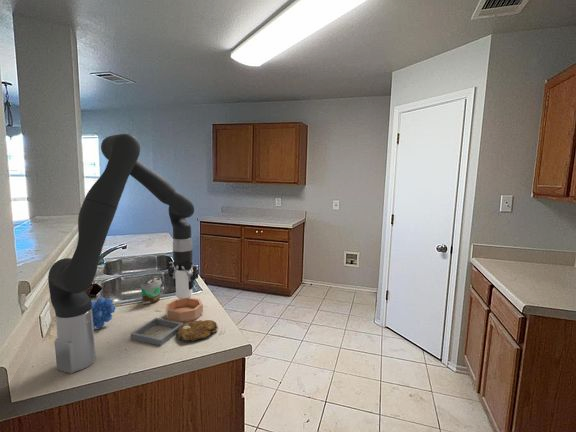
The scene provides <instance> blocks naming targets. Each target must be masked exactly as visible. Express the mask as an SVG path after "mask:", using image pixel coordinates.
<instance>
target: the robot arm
mask: <svg viewBox="0 0 576 432" xmlns="http://www.w3.org/2000/svg"><path fill="white" fill-rule="evenodd" d="M100 149H101V153H102V155H103V156H104V158H105V159H106V160H107V164H106V165H105V168H104V171H103V172H102V174H101V175H100V176H99V178H98V179H97V180H96V181H95V182H94V183H93V184H92V186H91V188H90V189H89V190H88V192H86V193H87V194H86V195H85V197H84V199H83V201H82V204H81V207H80V208H79V209H80V210H79V211H78V218H77V230H78V231H77V232H78V239H77V244H76V246H75V250H74V253H73V255H72V258H69V257H65V258H61V259H59V260H57V261H55V262H54V263H53V264H52V265H51V266H50V268H49V271H48V276H47V277H48V278H47V280H48V290H49V295H50V302H51V303H50V304H51V305H52V307H53V309H54V314H55V323H56V336H57V338H56V339H54V351H55V354H54V355H55V363H56V370H58V371H61V372H65V373H68V374H74V373H75V372H78V371H81V370H84V369H86V368H88V367H90V366H91V365H92V364H94V363H95V361H96V357H97V356H96V346H95V344H96V343H95V331H94V329H95V328H94V329H93V314H92V302H93V301H92V298H90V296H89V295H88V294H87V293H86V290H87V289H89V288H90V286H91V285H92V284H93V282H94V280H95V277H96V275H97V271H98V266H99V262H100V258H101V253H102V250H103V247H104V245H105V242H106V239H107V236H108V233H109V230H110V227H111V225H112V222H113V220H114V217H115V214H116V212H117V210H118V208H119V207H118V206H119V204H120V200H121V198H122V195H123V194H124V193H123V192H124V189H125V187H126V184H127V182H128V179H129V177H130V176H131V177H132V178H134V179H135V180H136V181H137V182H138V183H140V185H142V186H143V187H145V189H147V190H148V191H149V192H150V193H151V194H152V195H153V196H154V197H155V198H156V199H158V200H159V201H160V202H161V203H162V204H164V205H166V206H168V216H169V219H170V223H171V226H172V259H173V261H169V262H167V263H166V266H167V271H168V272H167V273H168V277H169V278H172V279H173V280H172V281H173V283H172V284H173V286H174V288H176V278H175V272H176V269H177V270H186V271H185V272H186V274H187V276H188V280H189V290H191V289H192V290H193V288H194V287H195V285H194V283H195V282H194V281H195V280H197V279H198V278H199V274H200V272H199V271H200V265H199V264H193V240H192V227H191V226H192V225H191V224H190V223H188V222H187V219H188V218H191V217H192V216H193V215H194V214H195V206H194V204H193V202H192V201H191V200H190V199H189V198H187V197H186V196H185V195H184V194H182V193H181V192H179V191H178V190H176V189H175V187H173V186H172V185H171V184H170V183H169V182H168V180H166V178H164V177H163V176H162V175H160V174H159V173H157V172H156V171H154V170H152V169H151V168H149V167H148V166H147V165H145V164H144V163H143V162H141V161H140V160H139V157H140V154H141V143H140V142H139V140H138V138H137V137H136V136H134V135H132V134H129V133H119V134H114V135H113V134H112V135H109V136H106V137H105V138H103V139H102V142H101V144H100ZM190 269H191V273H190V274H189V273H188V272H187V271H189V270H190ZM190 275H191V277H190Z"/></svg>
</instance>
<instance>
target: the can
mask: <svg viewBox="0 0 576 432" xmlns="http://www.w3.org/2000/svg"><path fill="white" fill-rule="evenodd" d="M175 269H176V268H175ZM191 269H192V268H191ZM191 269H190V270H189V271H187V272H188V273H189V274H190V273H191ZM185 271H186V270H177V269H176V272H175V278H176V287H175V296H176V299H187V298H192V296H193V288H192V289H191V290H189V280H188V276H187V274H186V272H185ZM190 277H191V275H190Z"/></svg>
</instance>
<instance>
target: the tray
mask: <svg viewBox="0 0 576 432" xmlns="http://www.w3.org/2000/svg"><path fill="white" fill-rule="evenodd" d="M183 324H185V322H184V323H181V322H175V321H170V320H168V319H163V318H159V317H155V318H153V319H152V320H150V321H148V322H147V323H145V324H143V325H142V326H141V327H139V328H138V329H136V330H134V331H133V332H131V333H130V340H133V341H138V342H143V343H147V344H152V345H156V346H163V345H164V344H166V343H167V342H168V341H170V339H171V340H172V338H173V337H174V336H177V335H176V333H177V332H178V329H179V328H180V327H181V326H182V325H183ZM155 325H160V326H164V327H169V328H173V329H171V330H170V331H168V332H167V333H166V334H164V335H163V336H161V338H159V337H155V336H150V335H145V334H143V333H145V332H147V331H149V330H150V329H151V328H153V327H155Z"/></svg>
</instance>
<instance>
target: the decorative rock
mask: <svg viewBox="0 0 576 432" xmlns="http://www.w3.org/2000/svg"><path fill="white" fill-rule="evenodd" d="M217 330H219V326H218V323H217V322H216V321H215V320H213V319H211V320H210V319H207V320H206V319H205V320H201V319H199V320H193V321H190V322H184V324H183V325H182V326H181V327H180V328H179V329H178V332H177V333H176V335H175V336H176V338H177V340H182V341H186V342H189V341H192V342H193V341H196V340H199V339H204V338H207V337H209V336H210V335H211V334H213V333H217Z"/></svg>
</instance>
